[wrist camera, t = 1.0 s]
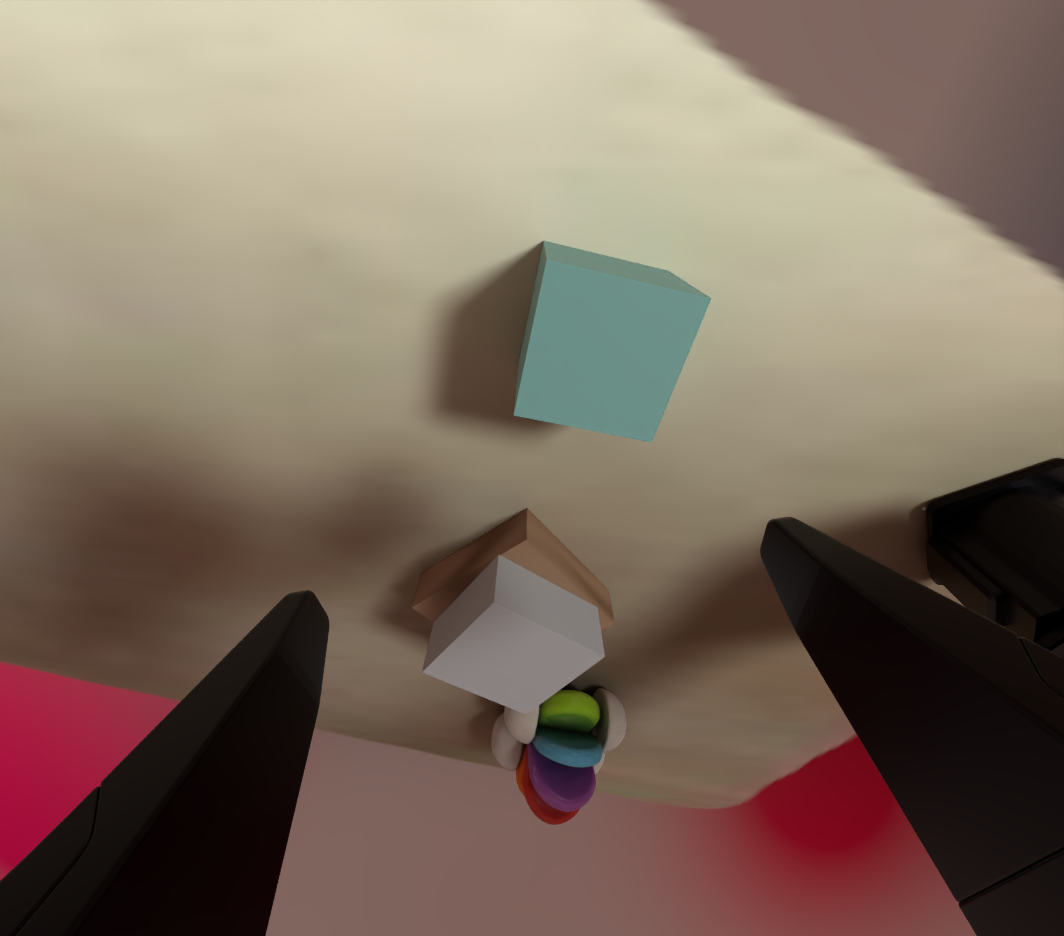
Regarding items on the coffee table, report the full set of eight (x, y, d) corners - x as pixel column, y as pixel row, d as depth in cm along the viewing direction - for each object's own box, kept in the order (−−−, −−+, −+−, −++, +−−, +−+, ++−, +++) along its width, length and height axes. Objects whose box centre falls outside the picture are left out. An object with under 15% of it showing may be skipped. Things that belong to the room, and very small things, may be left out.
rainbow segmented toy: (487, 725, 36) (478, 837, 30) (518, 655, 31) (514, 772, 25) (586, 740, 37) (596, 850, 31) (631, 675, 32) (655, 791, 26)
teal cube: (543, 240, 17) (546, 259, 13) (667, 270, 17) (711, 298, 13) (518, 365, 19) (513, 415, 15) (626, 387, 20) (651, 442, 16)
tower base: (527, 502, 24) (526, 539, 21) (607, 583, 27) (614, 624, 25) (423, 567, 27) (411, 607, 24) (508, 634, 30) (505, 675, 28)
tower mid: (498, 554, 22) (493, 602, 19) (597, 607, 24) (604, 656, 22) (433, 622, 25) (421, 672, 22) (526, 664, 27) (526, 714, 24)
